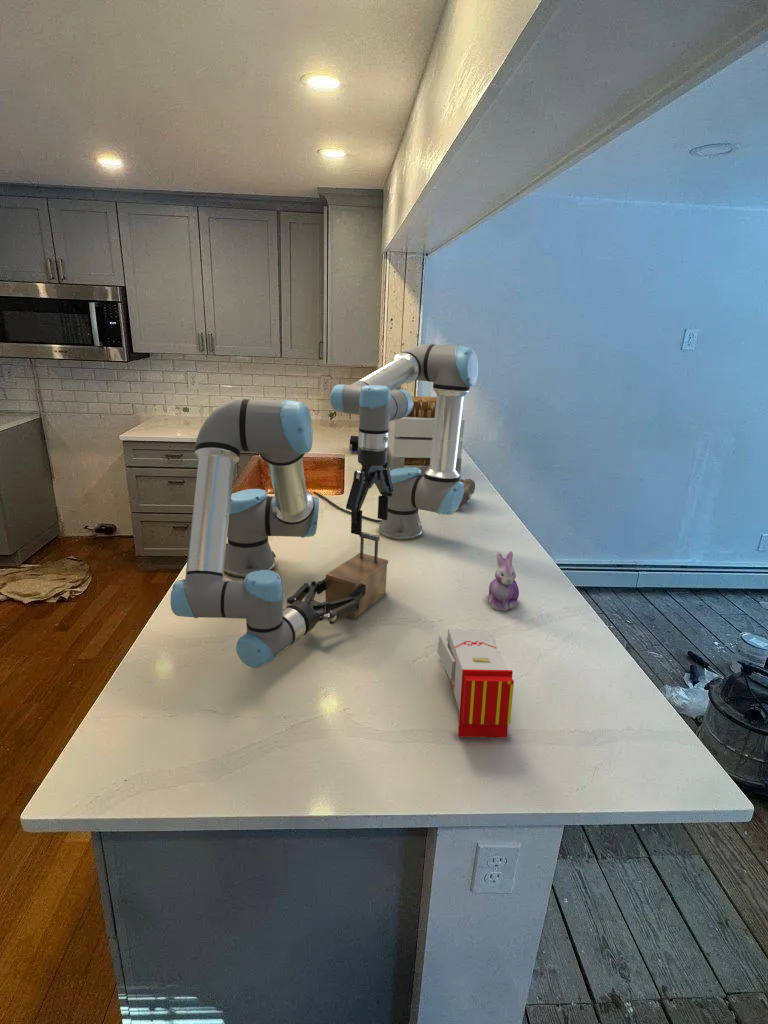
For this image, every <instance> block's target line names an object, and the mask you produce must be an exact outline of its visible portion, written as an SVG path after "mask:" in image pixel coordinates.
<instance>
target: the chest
mask: <svg viewBox="0 0 768 1024" xmlns="http://www.w3.org/2000/svg"><path fill="white" fill-rule="evenodd" d="M387 573H388V564H387V565H385V566H384V567H382V568H381V569H380V570H378V571H377V572H375V573H374V574H373V575H371V576H370V577H368V578H367V579H366V580H364V581H363V582H361V583H360V584H359V585H357V586H356V587H355V586H351V585H348V584H345V583H342V582H339V581H335V580H332V579H329V578H326V577H325V578H326V590H325V591H324V592H325V593H324V594H325V597H324V598H325V601H328V602H332V601H336V600H339V599H343V598H347V597H349V594H351V593H352V592H353V591H355V590H356V589H358V588H359V587H360V586H362V585H363V584H364V585H366V591H365V595H364V596H363V597H362V599H361V600H360V604H359V610H358V611H356V612H354V613H352V614H349V615H347V616H346V617H348V618H351V619H354V620H356V618H358V617H359V616H360V615H361V614H362V613H364V612H365V611H366V610H368V609H369V608H370V607H372V605H374V604H375V603H376V602H378V601H379V600H380V599H381V598H383V597H384V596H385V595H386V593H387V592H386V590H387ZM325 601H324V602H325ZM325 610H326V606H325Z"/></svg>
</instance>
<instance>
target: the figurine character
mask: <svg viewBox="0 0 768 1024" xmlns="http://www.w3.org/2000/svg"><path fill="white" fill-rule="evenodd" d="M358 437H359V435H350V438H349V446H348V448H349V449H348V450H349V451H351V455H352V454H354V453H356V455H358V449H359V448H360V447H359V446H358Z"/></svg>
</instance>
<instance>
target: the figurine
mask: <svg viewBox="0 0 768 1024" xmlns="http://www.w3.org/2000/svg"><path fill="white" fill-rule="evenodd" d="M513 556H514V553H513V551H512V550H510V551H508V553H507V555H506V556H505V558H504V556H503V555H502V553H501V552H500V551H497V552H496V562H497V563H496V564H497V567H496V569H495V571H494V576H495V578H494V579H492V581H491V582H489V585H488V596H487V601H488V602H487V603H489V605H491V608H492V609H493V610H496V611H497V610H498V611H503V612H505V611H507V610H511V609H514V608H515V606H516V605H517V603H518V599H519V596H520V590H519V585H518V583H517V581H516V576H517V575H516V571H515V568H514V566H513Z"/></svg>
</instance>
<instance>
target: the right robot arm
mask: <svg viewBox="0 0 768 1024" xmlns="http://www.w3.org/2000/svg"><path fill="white" fill-rule="evenodd" d="M478 378H479V361H478V356H477V353H476V352H475V350H474V349H473V348H471V347H469V346H462V345H451V344H450V345H449V344H436V343H435V344H434V343H425V344H424V343H423V344H419V345H415V346H413V347H411V348H407V349H406V350H403V351H400V352H399V353H398V354H396V355H395V356H394V357H393V358H392V360H391V361H390V362H388V363H386V364H385V365H383V366H381V367H379V368H377V369H376V370H374V371H373V372H371V373H370V374H368V375H365V376H364V377H362V378H360V379H358V380H357V381H355V382H353V383H351V384H345V383H344V384H341V383H340V384H339V383H338V384H336V385H334V386H333V388H332V389H331V391H330V396H329V400H330V406H331V409H333V411H335V412H339V413H342V414H351V415H356V416H359V417H358V418H359V419H358V436H359V437H358V446H359V447H360V448H359V449H358V454H357V462H358V464H359V465H361V470H354V472H353V479H352V484H351V487H350V491H349V494H348V498H347V501H346V505H345V508H343V507H340V506H339V505H337V504H336V503H334V502H333V501H331V500H330V499H329V498H327V497H325V496H324V495H323V494H320V493H318V492H316V491H313V492H312V493H313V494H314V495H316V496H317V497H320V498H322V499H324V500H325V501H326V502H328V503H329V504H330V505H332V506H333V507H335V508H336V509H338V510H340V511H342V512H344V513H346V514H348V515H350V516H351V517H350V522H351V523H350V534H353V535H357V536H359V535H361V533H362V532H363V531H362V530H363V529H362V528H363V519H365V520H366V521H367V520H368V521H371V522H375V523H379V527H378V533H379V534H380V535H381V536H382V537H385V538H387V539H389V540H395V541H410V540H415V539H418V538H420V537H421V536H422V535H423V525H422V524H423V523H422V520H421V518H420V515H419V510H421V511H426V512H429V513H436V514H438V515H445V516H451V515H453V514H454V513H456V511H457V510H458V507H459V505H460V503H461V501H462V498H463V494H464V484H463V483H462V482H460V481H459V474H458V473H457V471H456V470H455V469H456V461H457V452H458V443H459V434H460V426H461V418H463V408H464V399H465V396H466V395H467V394H468V393H469V392H470V388H471V387H474V386H475V385H476V383H477V381H478ZM415 381H420V382H429V383H432V390H433V391H434V392H435V394H436V397H437V399H436V409H435V419H434V429H433V438H432V448H431V458H430V466H428V468H427V469H426V470H424V472H423V473H424V474H422V470H421V468H419V467H414V466H411V467H409V466H406V467H405V466H404V468H397V469H393V470H391V471H390V467H389V462H387V454H388V451H387V449H386V448H387V447H388V440H389V438H388V432H389V421H392V420H396V419H402V418H403V417H405V416H407V415H408V414H409V413H410V412H411V411H412V408H413V399H412V397H411V396H412V395H411V393H410V392H409V391H407V390H406V389H404V390H402V389H400V390H398V389H396V388H398V387H399V386H401V387H402V385H405V384H411V383H413V382H415ZM405 390H406V391H405ZM373 485H375V486H376V489H377V490H378V492H379V494H380V495H378V498H377V499H378V500H377V519H376V518H371V517H369V516H365V515H363V510H362V507H363V504H364V503H365V502H364V501H365V500H366V497H367V495H368V492H369V490H370V489H371V488H372V487H373Z"/></svg>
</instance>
